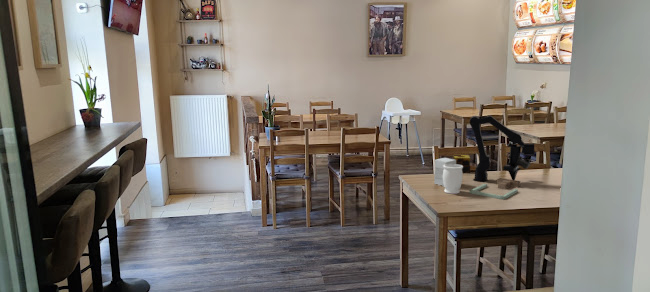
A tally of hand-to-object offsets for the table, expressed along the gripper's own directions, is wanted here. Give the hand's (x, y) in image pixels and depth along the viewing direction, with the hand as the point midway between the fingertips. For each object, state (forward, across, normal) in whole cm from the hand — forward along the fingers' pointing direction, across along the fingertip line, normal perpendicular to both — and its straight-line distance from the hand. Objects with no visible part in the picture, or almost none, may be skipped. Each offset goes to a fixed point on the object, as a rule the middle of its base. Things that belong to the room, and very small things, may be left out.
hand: (513, 180), depth 283 cm
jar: (+2, -41, +18) cm, 45 cm away
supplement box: (+2, -29, +29) cm, 41 cm away
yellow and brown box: (+2, +8, +37) cm, 38 cm away
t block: (+2, -12, 0) cm, 12 cm away
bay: (+2, -28, 0) cm, 28 cm away
